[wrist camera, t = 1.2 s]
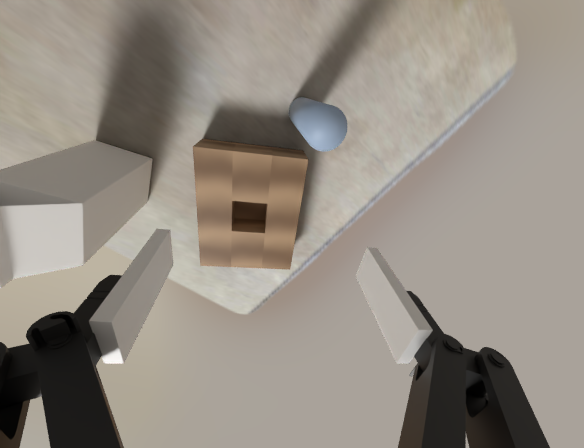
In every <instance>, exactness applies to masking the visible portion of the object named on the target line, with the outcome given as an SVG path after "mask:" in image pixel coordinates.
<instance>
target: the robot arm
mask: <svg viewBox="0 0 584 448" xmlns="http://www.w3.org/2000/svg"><path fill="white" fill-rule="evenodd" d="M172 266H173V256H172V245H171V234H170V230H165V229H156V231H155V232H154V233H153V235H152V236H151V237H150V239H149V240H148V241H147V243H146V244H145V246H144V247H143V248H142V250H141V251H140V252H139V254H138V255H137V256H136V258H135V259H134V260H133V262H132V263H131V265H130V266H129V267H128V269H127V270H126V271H125V273H124V274H123V275H122V276H120V275H109V276H108V277H106V278H105V279H103V280H102V281H100V282H99V283H98V285H97V286H96V287H95V288H94V290H93V292H91V293H90V294H89V296H88V297H87V299H85V300H84V302H83V303H82V304H81V305H80V307H79V308H78V309H77V310H76V311H75V312H74V314H73V313H71V312H67V311H65V312H56V313H52V314H49V315H47V316H45V317H43V318H41V319H39V320H38V321H36V322H35V323H34V324H32V325H31V327H30V328H29V329H28V331H27V334H26V338H27V340H28V341H29V343H30V344H26V345H21V346H16V347H12V348H7V347H6V346H5V345H4V344H3V343H2V342H0V448H19V447H20V442H21V438H22V434H23V429H24V425H25V420H26V416H27V412H28V407H29V403H30V399H34V398H37V397H40V396H42V400H43V405H44V411H45V417H46V423H47V429H48V435H49V441H50V447H51V448H124V447H123V444H122V441H121V438H120V435H119V432H118V429H117V426H116V423H115V420H114V417H113V415H112V412H111V409H110V406H109V403H108V400H107V397H106V394H105V391H104V389H103V385H102V382H101V379H100V377H99V374H98V371H97V368H96V364H97V362H98V361H99V359H100V357H101V356H102V358H103V361H104V363H124V362H125V360H126V358H127V356H128V354H129V352H130V350H131V348H132V346H133V344H134V342H135V340H136V338H137V336H138V334H139V332H140V330H141V328H142V326H143V324H144V322H145V320H146V318H147V316H148V314H149V312H150V310H151V308H152V306H153V304H154V302H155V300H156V298H157V296H158V294H159V292H160V290H161V288H162V286H163V284H164V282H165V280H166V278H167V276H168V274H169V272H170V270H171V268H172ZM356 278H357V280H358V282H359V285H360V287H361V289H362V291H363V293H364V295H365V297H366V300H367V301H368V304H369V306H370V308H371V310H372V312H373V314H374V316H375V319H376V321H377V323H378V325H379V327H380V329H381V331H382V334H383V336H384V338H385V340H386V342H387V344H388V346H389V349H390V351H391V353H392V355H393V357H394V359H395V361H396V363H410V362H411V360H412V359H413V358H414V357H415V358H416V360H417V362H418V364H417V365H416V366H415V368H414V369H413V370H412V372H411V373H410V376H412V375H413V374H414V375H413V381H412V385H411V389H410V394H409V400H408V403H407V408H406V413H405V418H404V422H403V427H402V431H401V436H400V441H399V445H398V448H465V437H466V435H465V434H467V439H468V443H469V448H550V447H549V445H548V443H547V440H546V438H545V436H544V434H543V432H542V430H541V428H540V426H539V423H538V421H537V419H536V417H535V415H534V412H533V410H532V408H531V406H530V404H529V402H528V400H527V398H526V395H525V393H524V391H523V389H522V387H521V385H520V383H519V380H518V378H517V376H516V374H515V372H514V369H513V367H512V365H511V364H510V362H509V361H508V360H507V359H506V358H505V357H504V356H503V355H502V354H500V353H499V352H497V351H496V350H494V349H492V348H488V347H484V348H482V349H481V350H480V352H475V351H472V350H469V349H466V348H463V346H462V345H461V344H460V343H459V342H458V341H457V340H456V339H454V338H453V337H451V336H449V335H446V334H444V333H443V332H442V330H441V329H440V328H439V326H438V325H437V323H436V322H435V321H434V319H433V318H432V316H431V315H430V314H429V312H428V311H427V309H426V308H425V307H424V306H423V304H422V302H421V301H420V299H419V298H418V297H417V296H416V295H414V294H413V293H412V292H411V291H406V290H405V289H404V287H403V286H402V284H401V283H400V281H399V280H398V278H397V277H396V275H395V274H394V272H393V271H392V269H391V268H390V266H389V265H388V263H387V262H386V261H385V259H384V258H383V256H382V255H381V253H380V252H379V250H378V249H377V248H370V247H367V249H366V252H365V254H364V257H363V260H362V262H361V264H360V267H359V269H358V272H357V274H356Z"/></svg>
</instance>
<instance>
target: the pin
mask: <svg viewBox="0 0 584 448" xmlns="http://www.w3.org/2000/svg"><path fill="white" fill-rule="evenodd" d="M289 117H290V119H291V121H292V122H293V123H294V125H295V126H296V127H297V129H298V130H299V131H300V133H301V134H302V135H303V137H304V138H305V139H306V141H307V142H308V143H309V145H310V146H311V147H312V148H314V149H316V150H318V151H330V150H333V149H335V148H336V147H338V146H339V145H340V144H341V143H342V141H343V140H344V138H345V136H346V133H347V120H346V117H345V115H344V114H343V112H342V111H341V110H340V109H339V108H337V107H335V106H332V105H328V104H325V103H322V102H318V101H315V100H311V99H308V98H304V97H300V98H297V99H295V100H294V101H293V102H292V103H291V105H290V107H289Z"/></svg>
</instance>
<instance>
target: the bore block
mask: <svg viewBox="0 0 584 448" xmlns="http://www.w3.org/2000/svg"><path fill="white" fill-rule="evenodd" d="M193 155H194V170H195V186H196V202H197V218H198V234H199V249H200V265H201V266H222V267H245V268H269V269H290V267H291V261H292V255H293V249H294V243H295V237H296V231H297V225H298V219H299V213H300V207H301V201H302V195H303V189H304V183H305V177H306V171H307V165H308V158H307V156H306V155H305V153H304V151H303V150H294V149H286V148H277V147H269V146H260V145H252V144H244V143H235V142H227V141H218V140H210V139H202V140H200V141H199V142H198V143H197V144H196V145H194V146H193Z"/></svg>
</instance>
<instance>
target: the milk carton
mask: <svg viewBox="0 0 584 448" xmlns="http://www.w3.org/2000/svg"><path fill="white" fill-rule="evenodd" d="M152 161H153V160H152V158H149V157H146V156H143V155H140V154H137V153H133V152H130V151H127V150H124V149H121V148H118V147H115V146H112V145H108V144H105V143H102V142H99V141H96V140H94V141H90V142H87V143H84V144H81V145H78V146H75V147H71V148H68V149H65V150H62V151H59V152H55V153H52V154H49V155H46V156H43V157H40V158H36V159H33V160H30V161H27V162H24V163H21V164H17V165H14V166H11V167H8V168H5V169H1V170H0V288H2V287H3V286H4V285H6V284H7V283H8V282H9V281H11V280H12V279H15V278H21V277H26V276H31V275H37V274H42V273H47V272H52V271H57V270H63V269H68V268H73V267H79V266H83V265H84V264H85V263H86V262H87V261H88V260H89V259H90V258H91V257H92V256H93V255H94V254H95V253H96V252H97V251H98V250H99V249H100V248H101V247H102V246H103V245H104V244H105V243H106V242H107V241H108V240H109V239H110V238H111V237H112V236H113V235H114V234H115V233H116V232H117V231H118V230H119V229H120V228H121V227H123V226H124V225H125V224H126V223H127V222H128V221H129V220H130V219H131V218H132V217H133V216H134V215H135V214H136V213H137V212H138V211H139V210H140V209H141V208H142V207H143V206H144V205H145V204H146V203H147V201H148V194H149V186H150V178H151V170H152Z"/></svg>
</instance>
